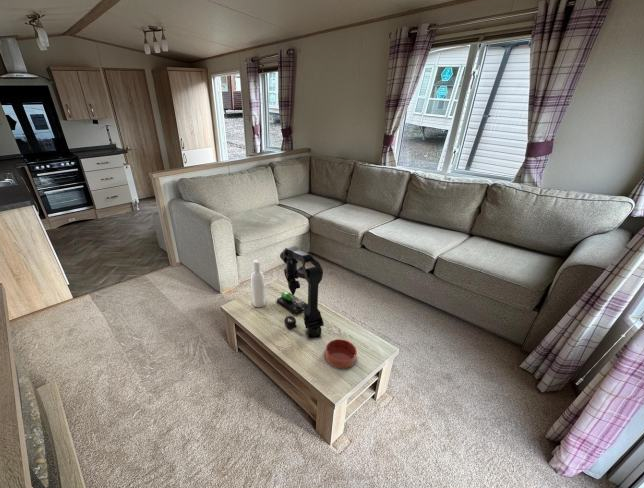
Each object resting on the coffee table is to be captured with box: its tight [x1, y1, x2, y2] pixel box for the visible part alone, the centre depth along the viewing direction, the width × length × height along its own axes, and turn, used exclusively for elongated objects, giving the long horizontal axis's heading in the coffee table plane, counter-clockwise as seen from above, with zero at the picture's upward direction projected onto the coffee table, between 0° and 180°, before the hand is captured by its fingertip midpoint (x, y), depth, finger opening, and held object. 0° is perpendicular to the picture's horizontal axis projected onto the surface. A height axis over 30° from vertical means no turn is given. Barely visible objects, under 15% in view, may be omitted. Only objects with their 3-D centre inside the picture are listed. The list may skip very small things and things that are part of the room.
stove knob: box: [296, 298, 303, 308], centre depth 175 cm, size 4×4×4 cm
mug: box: [283, 313, 302, 335], centre depth 161 cm, size 12×6×7 cm, turn 42°
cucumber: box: [281, 291, 294, 301], centre depth 182 cm, size 4×9×4 cm, turn 40°
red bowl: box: [325, 338, 358, 369], centre depth 144 cm, size 14×14×5 cm
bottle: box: [250, 259, 267, 308], centre depth 176 cm, size 8×8×30 cm
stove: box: [276, 292, 308, 317], centre depth 180 cm, size 18×10×3 cm, turn 40°
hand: (291, 290), depth 176 cm, fingers open, 9 cm apart
